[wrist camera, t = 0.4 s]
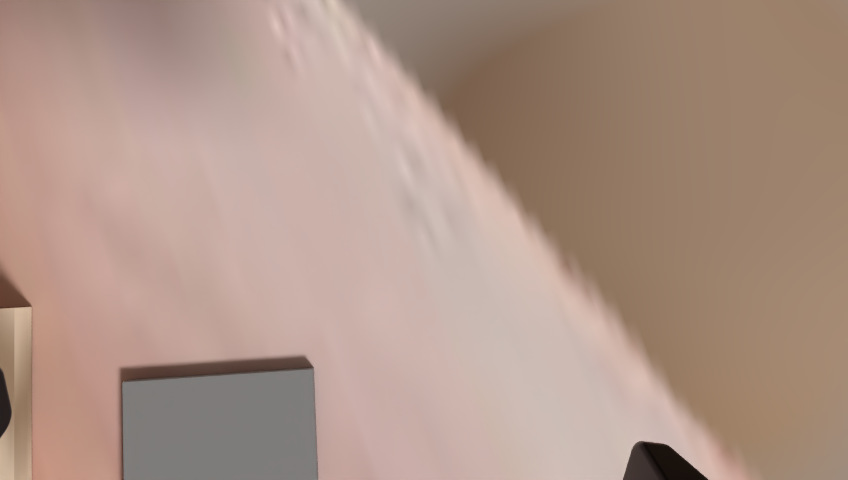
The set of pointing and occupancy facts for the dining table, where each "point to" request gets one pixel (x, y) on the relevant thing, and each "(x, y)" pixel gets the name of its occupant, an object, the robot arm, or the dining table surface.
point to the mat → (221, 427)
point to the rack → (17, 392)
